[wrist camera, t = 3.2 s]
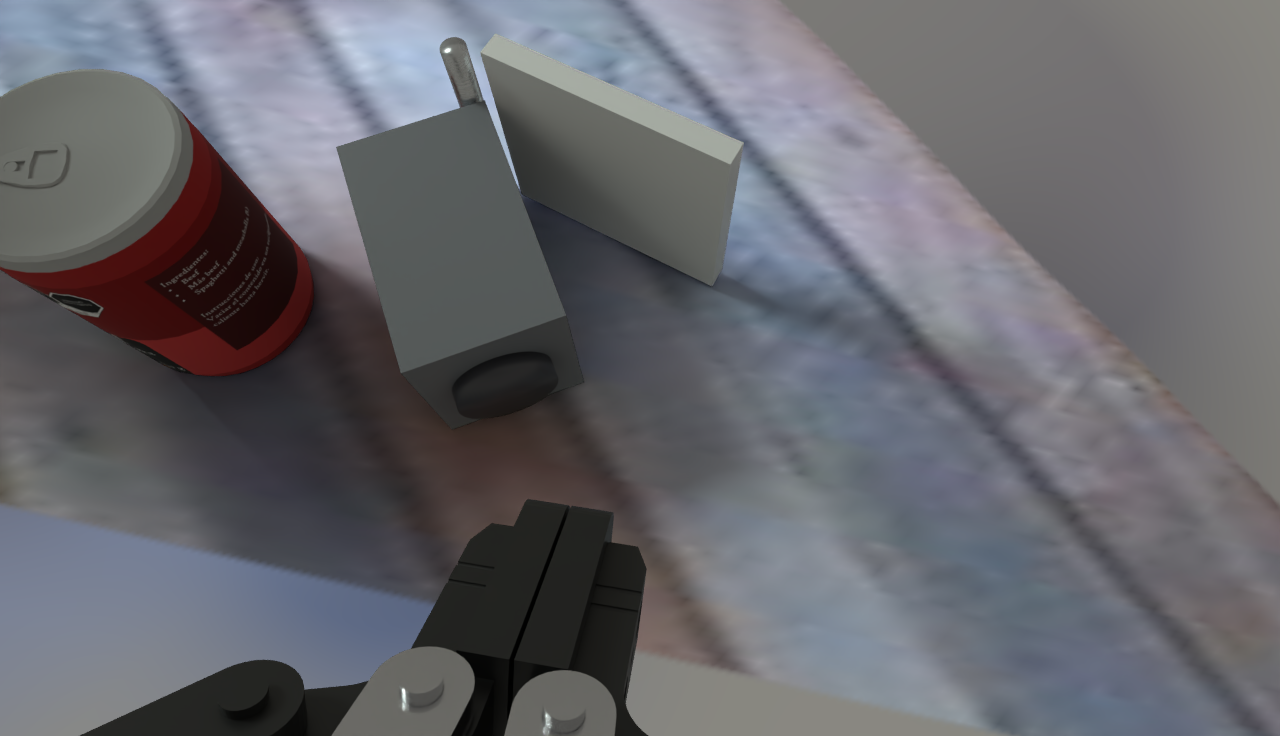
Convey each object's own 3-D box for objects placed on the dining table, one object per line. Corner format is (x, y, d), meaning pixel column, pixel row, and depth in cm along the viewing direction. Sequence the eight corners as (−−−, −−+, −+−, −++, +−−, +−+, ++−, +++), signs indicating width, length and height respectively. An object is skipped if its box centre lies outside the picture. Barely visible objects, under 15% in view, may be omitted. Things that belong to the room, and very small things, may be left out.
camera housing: (387, 216, 37) (304, 82, 28) (507, 177, 37) (462, 34, 29) (457, 446, 33) (385, 371, 24) (589, 397, 33) (566, 308, 25)
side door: (521, 194, 37) (480, 52, 28) (541, 166, 37) (507, 18, 28) (712, 286, 35) (730, 164, 26) (730, 255, 35) (753, 125, 27)
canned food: (135, 263, 36) (-74, 106, 26) (301, 209, 37) (164, 37, 27) (157, 408, 33) (-64, 298, 23) (336, 347, 34) (199, 216, 24)
